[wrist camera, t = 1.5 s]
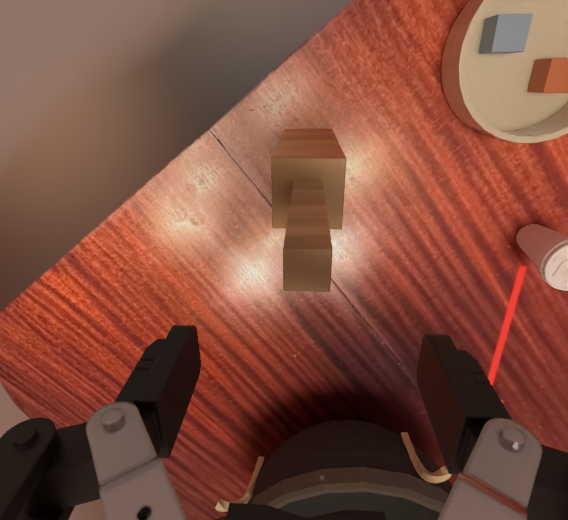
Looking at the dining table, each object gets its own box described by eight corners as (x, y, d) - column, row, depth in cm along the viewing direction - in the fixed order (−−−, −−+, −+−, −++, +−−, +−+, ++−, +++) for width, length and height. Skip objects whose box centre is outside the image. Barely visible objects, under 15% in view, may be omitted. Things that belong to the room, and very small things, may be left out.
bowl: (283, 513, 82) (276, 635, 64) (223, 394, 69) (192, 506, 51) (452, 490, 76) (496, 618, 58) (422, 353, 62) (469, 464, 44)
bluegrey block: (484, 18, 42) (498, 14, 39) (516, 18, 42) (533, 13, 39) (478, 53, 43) (491, 51, 40) (509, 53, 43) (524, 51, 40)
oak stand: (285, 129, 49) (271, 158, 31) (332, 129, 48) (346, 158, 30) (285, 176, 51) (272, 228, 33) (329, 176, 51) (341, 229, 33)
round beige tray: (456, -35, 41) (479, -53, 35) (627, -39, 40) (677, -58, 34) (430, 135, 48) (445, 142, 43) (573, 136, 47) (608, 143, 42)
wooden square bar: (293, 180, 31) (283, 248, 19) (322, 180, 31) (332, 249, 18) (293, 208, 32) (283, 291, 20) (321, 209, 32) (330, 292, 20)
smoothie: (499, 227, 53) (560, 274, 40) (548, 205, 51) (627, 247, 38) (513, 264, 55) (575, 319, 42) (560, 244, 53) (639, 296, 40)
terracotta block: (534, 59, 43) (552, 57, 40) (565, 59, 43) (585, 57, 40) (526, 92, 45) (542, 93, 42) (556, 92, 45) (575, 92, 42)
